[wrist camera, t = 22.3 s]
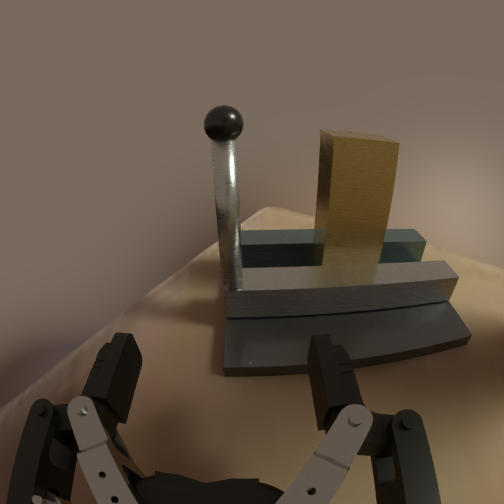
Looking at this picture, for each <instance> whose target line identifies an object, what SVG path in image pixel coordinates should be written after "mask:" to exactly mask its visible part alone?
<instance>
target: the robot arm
mask: <svg viewBox="0 0 504 504" xmlns="http://www.w3.org/2000/svg"><path fill="white" fill-rule="evenodd" d="M307 366H308V373H309V378H310V384H311V390H312V396H313V402H314V408H315V414H316V420H317V426H318V431H319V430H325V433H326V436H325V438H324V439H323V441H322V442H321V444H320V445H319V447H318V448H317V450H316V451H315V453H314V454H313V455H312V457H311V458H310V459H309V461H308V462H307V464H306V465H305V466H304V468H303V469H302V470H301V472H300V473H299V475H298V476H297V477H296V479H295V480H294V481H293V482H292V484H291V485H290V486H289V488H288V489H287V490H286V491H285V493H284V492H283V491H282V490H280V489H278V488H276V487H274V486H271V485H268V484H265V483H260V482H259V478H258V479H227V480H222V481H216V482H210V483H203V482H199V481H196V480H193V479H190V478H187V477H184V476H181V475H178V474H170V473H163V472H157V471H155V474H154V476H149V477H145V476H144V474H143V473H142V471H141V470H140V468H139V467H138V466H137V465H136V464H135V462H134V461H133V459H132V457H131V455H130V454H129V452H128V450H127V448H126V446H125V444H124V442H123V440H122V438H121V436H120V434H119V432H118V430H117V424H118V422H119V423H124V424H126V422H127V418H128V414H129V410H130V406H131V403H132V399H133V395H134V391H135V388H136V384H137V381H138V377H139V374H140V370H141V367H142V355H141V353H140V350H139V348H138V346H137V344H136V341H135V339H134V337H133V335H132V334H129V333H115V334H114V336H113V339H112V341H111V343H106V344H105V345H104V346H103V347H102V348H101V349H100V350H99V353H98V355H97V357H96V361H95V362H94V364H93V368H92V369H91V372H90V374H89V377H88V379H87V382H86V384H85V387H84V390H83V392H82V394H81V396H78V397H75V398H74V399H72V400H71V402H70V403H69V404H62V405H53V404H52V403H51V402H50V401H49V400H47V399H39V400H37V401H35V402H34V403H33V405H32V407H31V409H30V412H29V415H28V418H27V421H26V424H25V427H24V430H23V433H22V437H21V440H20V444H19V447H18V451H17V455H16V459H15V463H14V467H13V471H12V476H11V481H10V486H9V492H8V498H7V504H71V503H70V498H71V491H72V484H73V478H74V473H75V467H76V462H77V458H78V461H79V463H80V466H81V468H82V471H83V473H84V475H85V478H86V480H87V482H88V484H89V487H90V489H91V491H92V493H93V495H94V497H95V499H96V501H97V503H98V504H328V503H329V502H330V500H331V499H332V497H333V496H334V494H335V493H336V491H337V490H338V488H339V487H340V485H341V484H342V482H343V480H344V479H345V477H346V475H347V473H348V471H349V467H350V465H351V463H352V462H353V460H354V458H355V456H356V455H366V456H371V461H372V468H373V475H374V483H375V491H376V500H377V504H441V501H440V495H439V489H438V484H437V479H436V474H435V469H434V465H433V460H432V456H431V452H430V448H429V444H428V440H427V436H426V432H425V429H424V425H423V421H422V419H421V417H420V415H419V414H418V413H417V412H415V411H413V410H408V409H406V410H401V411H399V412H398V413H397V414H396V415H386V414H378V413H374V412H372V411H370V410H369V409H368V408H367V407H366V406H365V405H364V403H363V401H362V398H361V395H360V391H359V387H358V384H357V381H356V377H355V374H354V372H353V371H354V370H353V367H352V365H351V361H350V357H349V354H348V352H347V351H346V350H345V349H344V347H343V346H342V345H341V344H339V345H333V344H332V340H331V337H330V334H315V335H312V336H311V341H310V346H309V351H308V357H307Z"/></svg>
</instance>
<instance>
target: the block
mask: <svg viewBox="0 0 504 504" xmlns="http://www.w3.org/2000/svg"><path fill="white" fill-rule="evenodd" d="M320 131H321V132H320V153H319V173H318V188H317V202H316V215H315V226H314V237H313V247H312V257H311V266H334V265H360V264H378V263H379V259H380V255H381V251H382V246H383V242H384V237H385V233H386V228H387V223H388V217H389V212H390V207H391V201H392V195H393V189H394V182H395V175H396V168H397V160H398V151H399V143H398V142H395V141H393V140H390V139H388V138H385V137H383V136H380V135H375V134H367V133H366V134H365V133H356V132H346V131H333V130H320Z"/></svg>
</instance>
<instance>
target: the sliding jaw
mask: <svg viewBox="0 0 504 504" xmlns="http://www.w3.org/2000/svg"><path fill="white" fill-rule="evenodd" d="M243 124H244V123H243V118H242V116H241V114H240V113H239V111H237V110H236V109H235V108H233V107H231V106H226V105H222V106H217V107H215V108H213V109H212V110H210V111H209V113H208V114H207V115H206V117H205V120H204V129H205V132H206V134H207V135H208V137H209V138H210V139H212V141H211V144H212V161H213V176H214V190H215V205H216V216H217V217H216V218H217V230H218V242H219V253H220V264H221V274H222V285H223V288H224V289H223V292H224V302H225V311H226V318H231V317H273V316H296V315H314V314H329V313H342V312H354V311H365V310H376V309H385V308H394V307H403V306H411V305H419V304H426V303H433V302H440V301H447V300H450V298H451V295H452V293H453V291H454V288H455V286H456V284H457V281H458V279H459V277H458V275H457V274H456V273H455V272H454V271H453V270H452V268H451V267H450V266H449V265H448V264H447V263H446V262H445V261H425V262H405V263H384V264H360V265H334V266H305V267H272V268H242V248H241V224H240V199H239V172H238V145H237V139H236V138H237V137H238V136H239V135H240V134H241V132H242V130H243Z"/></svg>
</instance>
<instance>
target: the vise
mask: <svg viewBox="0 0 504 504" xmlns="http://www.w3.org/2000/svg"><path fill="white" fill-rule="evenodd" d="M313 237H314V229H299V230H248V231H241V248H242V268H272V267H305V266H311V257H312V247H313ZM425 245H426V240H425V239H424V238H423V237H422V236H421V235H420V234H419V233H418V232H417V231H416V230H415V229H386V233H385V237H384V242H383V246H382V251H381V255H380V259H379V263H378V264H384V263H405V262H421V259H422V255H423V252H424V249H425ZM315 334H330V337H331V340H332V344H333V345H339V344H341V345H342V346H343V347H344V349H345V350H346V351H347V352H348V354H349V357H350V361H351V365H352V367H353V368H358V367H365V366H371V365H377V364H383V363H389V362H394V361H399V360H404V359H409V358H414V357H419V356H423V355H427V354H432V353H436V352H440V351H444V350H447V349H451V348H455V347H458V346H462V345H465V344H467V343H468V341H469V339H470V338H471V336H472V335H471V333H470V331H469V330H468V328H467V327H466V325H465V324H464V322H463V321H462V319H461V318H460V316H459V315H458V314H457V312H456V311H455V309H454V308H453V306H452V305H451V304H450V302H449V301H448V300H447V301H440V302H433V303H426V304H419V305H411V306H403V307H394V308H385V309H376V310H365V311H354V312H342V313H329V314H314V315H296V316H273V317H231V318H226V330H225V344H224V359H223V371H224V376H273V375H291V374H305V373H308V366H307V357H308V351H309V346H310V341H311V336H312V335H315Z"/></svg>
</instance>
